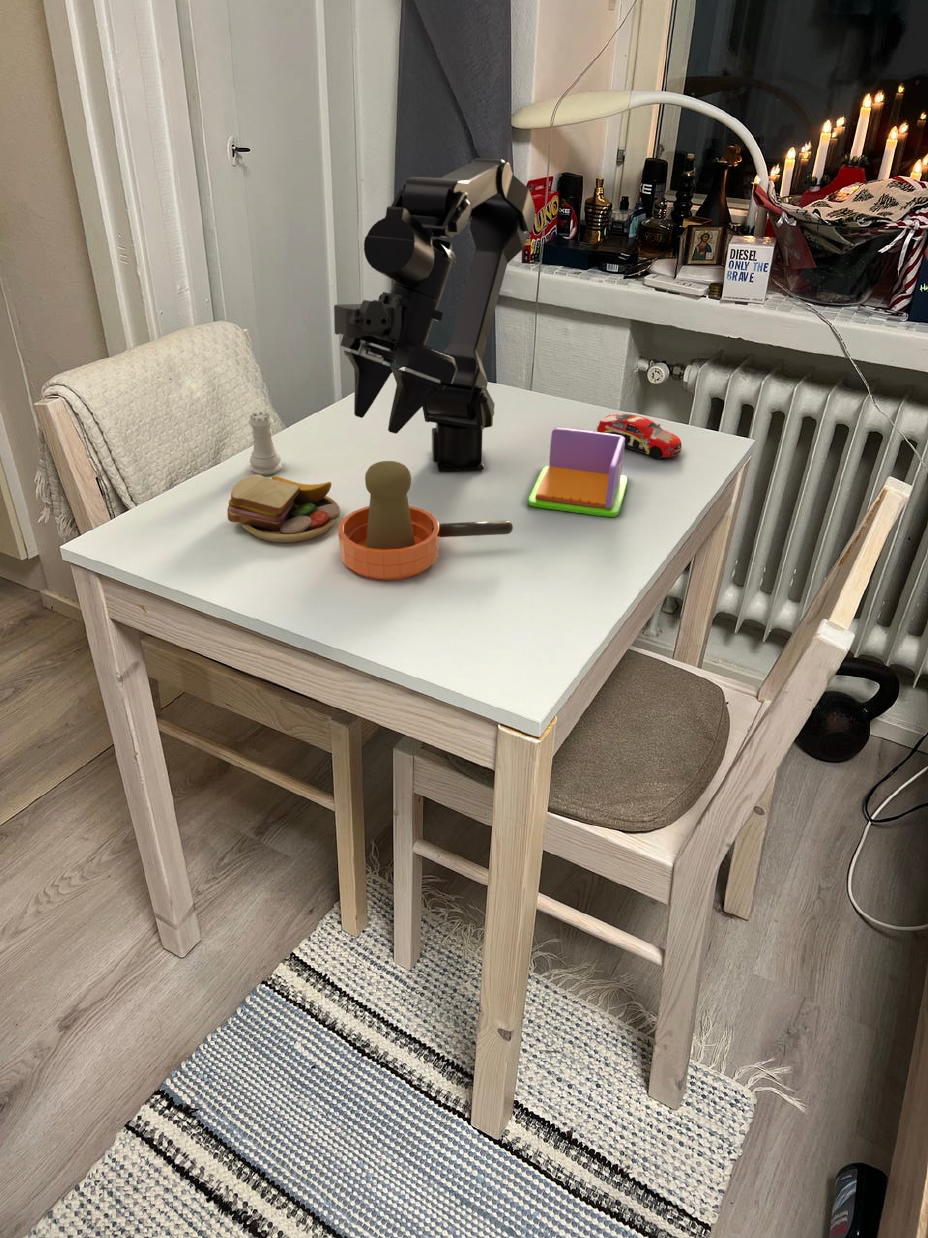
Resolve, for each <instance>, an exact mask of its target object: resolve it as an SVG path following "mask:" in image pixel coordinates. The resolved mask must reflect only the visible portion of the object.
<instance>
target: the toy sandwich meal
mask: <svg viewBox="0 0 928 1238" xmlns="http://www.w3.org/2000/svg"><path fill="white" fill-rule="evenodd" d="M331 488H332V482H331V481H328V482H324V483H316V484H315V483H313V484H306V483H299V482H296V481H293V480H289V479H286V478H283V477H281V476H277V475H273V476H272V477H271V478H269V477H266V476H264V475H259V474H256V473H254V474H251V475H248V476H246V477H244V478H242V479H240V480H239V481H238V482H237V483H236V484H235V485H234V486H233V487H232V490H231V493H230V499H229V500H228V506H227V512H226V513H227V520H228V522H230V523H239V524H240V525H241V527H242V528H243V529H245V531H247V532H249V533H250V534H252V535H253V536H255V537H256V538H259V539H261V540H265V541H268V542H275V543H297V542H303V541H308V540H311V539H314V538H317V537H319V536H321V535H323V534H325V533H326V532H328V530H330V529H331V528H332V527H333V526H334V525H335V524H336V523H337V521H338V520H339V518H340V516H341V507H340V505H339V504H338V503H337V502H336V501H335V500H334V499H332V497H329V496H328V494H329V492H330V491H331Z"/></svg>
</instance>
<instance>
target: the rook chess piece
mask: <svg viewBox="0 0 928 1238" xmlns="http://www.w3.org/2000/svg"><path fill="white" fill-rule="evenodd" d="M273 422H274V420H273V419H272V417H271V414H270V413H269V412H268V411H264V412H263V410H260V411H259V410H258V414H257V412H256V411H254V412H252V413H251V414H250V418H249V420H248V424H249V425H250V426H251V427H252V430H251V434H252V437H253V451H252V452H251V456H250V457H249V463H250V465H249V469H250V470H251V471H252V472H253V473H254V474H259V475H262V476H270V475H274V474H277V473H278V472H280V470H281V469H282V468H283V463H282V462H281V461H282V458H281V455H280V454H279V453H278V451H277V450H276V448H275V446H274V441H273V438H272V437H273V436H272V433H273V429H272V428H271V426H272V424H273Z"/></svg>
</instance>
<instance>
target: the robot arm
mask: <svg viewBox="0 0 928 1238" xmlns="http://www.w3.org/2000/svg"><path fill="white" fill-rule="evenodd" d="M535 219H536V208H535V204H534V200H533V197H532V195H531V191H530V189H529V187H527V185H525V184H524V183H523V182H522V181H521V180H520V179H519V178H518V177H516V176H515V174H513V171H512V168H511V165H510V163H509V162H506V161H505V160H504V159H493V158H480V157H479V158H478V157H476V158H474V159H470V160H469V161H468V163H467V164H465V165H464V166H462V167H459V168H458V169H455V170H454V171H452V172H449V173H448V174H445V175H443V176H442V177H426V176H425V177H424V176H409V177H408V178H406V179H405V181H404V182H403V184H402V187H401V188H400V189H399V190H398V192H397V194H396V196H395V198H394V200H393V201H392V204H391V205H390V206H389V205H388V206H386V211H385V216H384V217H383V218H381V219H379V220H377V221H376V222H375V223H374V224H373V225H372V226H371V228H370V229H369V230H368V233H367V234H366V236H365V237H364V241H363V251H364V257H365V259H366V261H367V263H368V264H369V266H370V267H371V268H373V269H374V270H375V271H377V272H378V273H380V274H382V275H383V276H385V277H386V278H388V279H390V280H392V285H391V287H390V291H389V292H386V291H383V292H382V293H381V294H380V295H379V296H378V299H373V300H367V299H363V300H362V302H361V303H345V304H343V303H342V304H339V303H338V304H334V305H333V316H334V317H333V319H334V321H333V322H334V323H333V325H334V335H342V338H341V342H340V346H341V347H343V348H347V349H349V350H350V351H347V350H343V353H344V356H346V357H347V358H348V360H349V362H350V364H351V366H352V367H353V372H354V375H353V376H354V401H353V405H354V406H353V407H354V409H353V411H354V412H353V414H354V416H355V417H357V418H360V419H363V418H364V417H365V415H366V414H367V412H369V410H370V408H371V407H372V405H373V404H374V402H375V400H376V399H377V396H378V395H379V394H380V392H381V390H382V389H383V388H384V386H385V384H386V382H387V381H388V379H389V378H390V376H391V375H393V378H394V380H395V383H396V387H395V391H394V397H393V401H392V405H391V411H390V415H389V420H388V428H387V431H388V432H389V433H392V434H398V433H399V432H400V431H401V430H402V429H403V428H404V427H405V426H406V425H407V424H408V423H409V421H411V419H412V418H413V417H414V416H416V414H417V413H418V412H419V411H420V409H422V412H423V418H424V422H425V423H433V424H434V423H435V427H432V428H431V457H432V461H433V463H435V464H436V469H437V471H438V472H460V471H461V472H462V471H482V470H484V469H485V465H484V461H483V432H484V431H483V430H485V429H487V428H491V427H493V425H494V424H493V423H494V415H495V406H496V405H495V402H494V400H493V398H492V396H491V395H490V394H491V393H489V390H488V379H487V375H486V373H485V368H484V366H483V363H482V360H483V356H484V353H485V352H484V351H485V349H486V345H487V342H488V338H489V333H490V330H491V326H492V322H493V319H494V316H495V311H496V308H497V304H498V302H499V301H498V300H499V297H500V292H501V289H502V285H503V282H504V278H505V273H506V270H507V267H508V264H509V263H510V262H511V261H512V260H514V258H516V257H517V255H519V254H520V253H521V252H522V251H523V250H524V248H525V245H526V242H527V239H528V236H529V234H530V233H531V232H532V231H533V229H534V225H535ZM468 224H469V227H468V228H469V231H470V234H471V237H472V241H473V243H474V246H475V247H474V253H473V257H472V260H471V264H470V266H469V267H470V268H469V271H468V275H467V279H466V282H465V285H464V288H463V289H464V290H463V294H462V297H461V300H460V304H459V308H458V310H457V311H458V312H457V315H456V320H455V323H454V326H453V330H452V333H451V337H450V341H449V345H448V347H447V348H446V349H445V350H443V351H442V352H441V351H437V350H434V349H433V348H432V347H430V346H428V345H427V342H428V339H429V337H430V332H431V329H432V326H433V323H434V321H437V322H442V320H443V319H442V318H443V315H444V312H441V311H439V310H438V307H439V305H440V301H441V298H442V296H443V292H444V289H445V285H446V283H447V279H448V276H449V273H450V270H451V267H452V268H455V267H456V266H457V257H456V255H455V253H454V250H453V243H452V242H450V241H447V240H444V239H453V237H457V236H458V235H459V234H461V232H462V231H463V230H464V228H466V226H467V225H468ZM434 237H435V239H434ZM441 238H444V239H441ZM384 362H386V363H388V364H393V363H394V362H395V365H397V366H400V367H402V368H404V370H403V369H400V368H397V367H394V366H389V365H387V364H384Z"/></svg>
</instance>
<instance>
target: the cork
mask: <svg viewBox="0 0 928 1238" xmlns="http://www.w3.org/2000/svg"><path fill="white" fill-rule="evenodd" d="M364 482H365V488H366V490H367V492H368V493H369V494H370V498H369V505H368V506H369V517H368V528H367V539H366V547H368V548H374V549H382V550H386V549H401V548H405V547H410V546H414V545H415V541H414V535H413V529H412V523H411V517H410V511H409V505H410V504H409V500H408V493H409V491H410V489H411V485H412V475H411V472H410V470H409V468H408V467H407V466H406V465H405V464H403V463H401V462H398V461H394V460H383V461H378V462H375V463H373V464H372V465H370V466H369V467H368V469H367V471H366V472H365V476H364Z"/></svg>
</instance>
